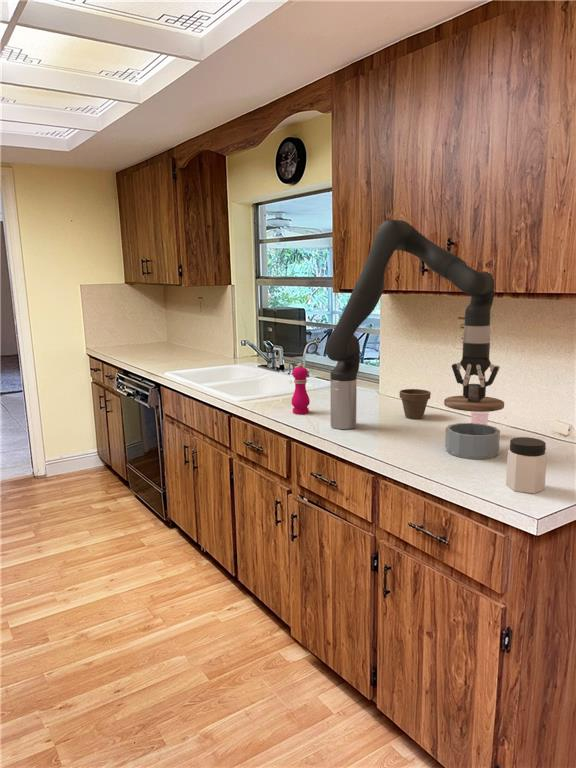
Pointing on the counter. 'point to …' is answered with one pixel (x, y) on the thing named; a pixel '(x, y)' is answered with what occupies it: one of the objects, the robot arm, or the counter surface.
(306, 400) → the pepper mill
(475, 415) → the beverage cup
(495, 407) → the walnut lid
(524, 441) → the jar
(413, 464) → the counter surface
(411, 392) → the flower pot
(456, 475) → the counter surface
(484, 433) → the grey hollow cylinder
